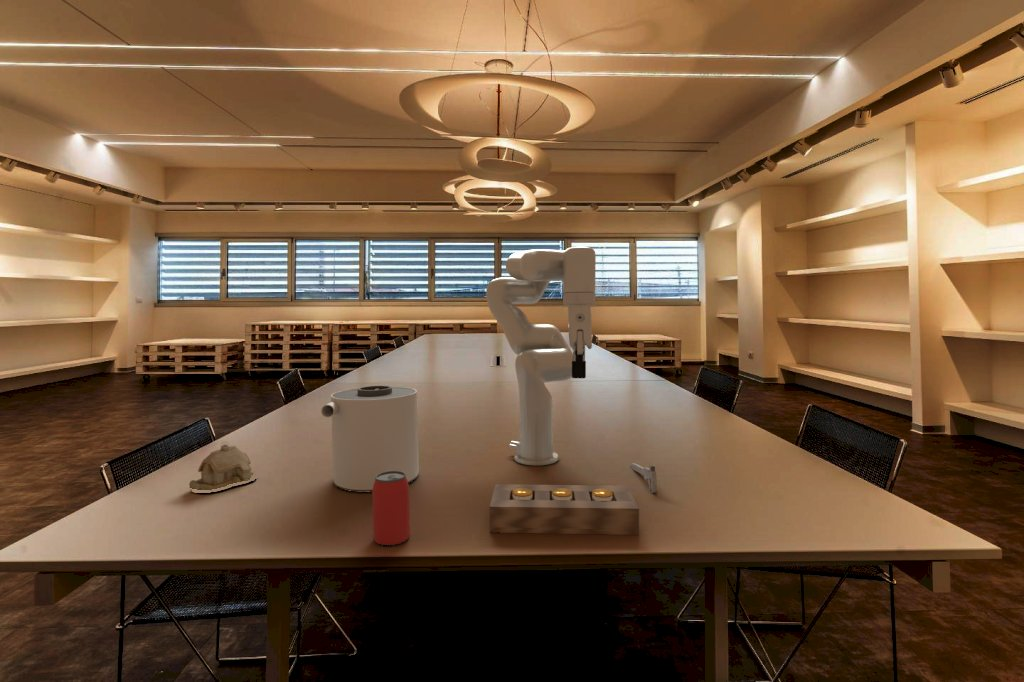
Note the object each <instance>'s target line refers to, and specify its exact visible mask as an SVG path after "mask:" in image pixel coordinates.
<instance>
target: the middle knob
mask: <svg viewBox="0 0 1024 682" xmlns="http://www.w3.org/2000/svg"><path fill="white" fill-rule="evenodd" d="M552 500H568V501H572V491H571V490H569V489H565V488H558V489H554V490H553V491H552Z"/></svg>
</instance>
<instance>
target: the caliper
mask: <svg viewBox="0 0 1024 682" xmlns="http://www.w3.org/2000/svg"><path fill="white" fill-rule="evenodd" d="M629 466H630V467H631V469H632V470H633V471H635V472H637V473H638V474H639V473H640V475H643V477H644V478H643V479H644V480H647V482H648V490H649V492H651V494H657V491H658V489H657V487H658V480H657V471H656V466H655V465H648V467H644V466H642V465H640V464H637V463H635V462H633V463H632V462H631V463H630V465H629Z"/></svg>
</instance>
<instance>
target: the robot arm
mask: <svg viewBox="0 0 1024 682" xmlns="http://www.w3.org/2000/svg"><path fill="white" fill-rule="evenodd" d="M596 258H597V257H596V252H595V249H594V248H592V247H589V246H574V247H568V248H566V249H565V250H564V249H539V248H537V249H528V250H523V251H517V252H514V253H512V254H511V255H510V256H509V257H508V258H507V260H506V263H505V269H506V271H507V274H508V275H509V276H510V277H509V276H507V277H506V276H505V277H498V278H495V279H492V280H491V281H489V283H487V285H486V292H485V295H486V296H485V297H486V301H487V306H488V309H489V310H490V313H491V315H492V316H493V318H494V319H495V321H496V322H497V323H498V324H499V325H500V327H501V329H502V332H503V333H504V336H505V337H506V339H507V340H506V341H507V343H508V345H509V347H510V349H511V350H512V352H513V353H514V354H515V355H517V356H516V357H515V363H514V365H515V366H514V367H515V372H516V379H517V380H516V381H517V385H518V411H519V412H518V416H519V417H518V419H519V421H518V422H519V423H518V425H519V441H517V440H511V441H510V442H509V446H508V447H509V448H508V449H510V450H515V451H516V453H515V454H514V458H513V459H514V461H515V462H517V463H518V464H522V465H526V466H536V467H537V466H547V465H552V464H555V463H556V462H557V461H559V455H558V453H557V452H555V451H554V437H553V435H554V434H553V433H554V432H553V431H554V429H553V428H554V427H553V424H554V423H553V421H554V420H553V414H554V413H553V409H554V408H553V406H554V405H553V396H552V394H551V392H550V390H549V389H548V388H547V386H546V384H545V383H551V382H563V381H567V380H570V379H586V376H587V375H586V373H587V366H586V365H587V362H586V348H587V349H588V350H591V349H592V348H593V336H592V335H593V334H592V333H593V332H592V331H593V330H592V329H593V326H592V325H593V320H592V308H593V307H596V263H597V262H596V261H597V260H596ZM551 281H554V282H555V281H556V282H557V281H560V282H562V307H563V308H564V307H565V308H566V307H567V312H568V313H567V314H568V315H567V317H568V318H567V319H568V320H567V321H568V322H567V325H568V327H567V328H568V341H569V345H568V343H567V341H566V340H565V338H564V336H563V334H562V332H561V331H560V330H559V328H558V327H557V326H555V325H553V324H550V323H549V324H547V323H532V322H531V321H530V320H529V319H528V316H527V315H526V313H525V312H524V311H523V310H522V309H520V308H519V307H517V306H516V305H534V304H537V303H538V302H539V301H540V300H541V299H542V297H543V295H544V293H545V291H546V289H547V288H548V286H549V285H550V282H551ZM571 349H572V350H571Z"/></svg>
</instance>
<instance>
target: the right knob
mask: <svg viewBox="0 0 1024 682" xmlns="http://www.w3.org/2000/svg"><path fill="white" fill-rule="evenodd" d="M592 501H612V491H610V490H607V489H595V490H593V491H592Z"/></svg>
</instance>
